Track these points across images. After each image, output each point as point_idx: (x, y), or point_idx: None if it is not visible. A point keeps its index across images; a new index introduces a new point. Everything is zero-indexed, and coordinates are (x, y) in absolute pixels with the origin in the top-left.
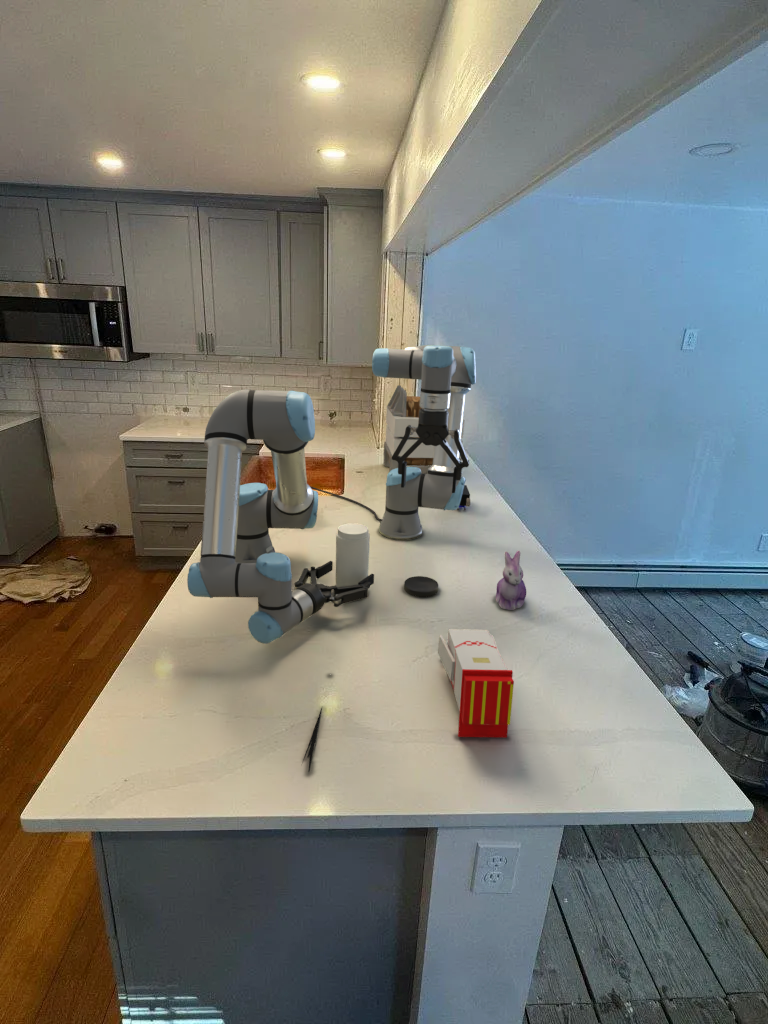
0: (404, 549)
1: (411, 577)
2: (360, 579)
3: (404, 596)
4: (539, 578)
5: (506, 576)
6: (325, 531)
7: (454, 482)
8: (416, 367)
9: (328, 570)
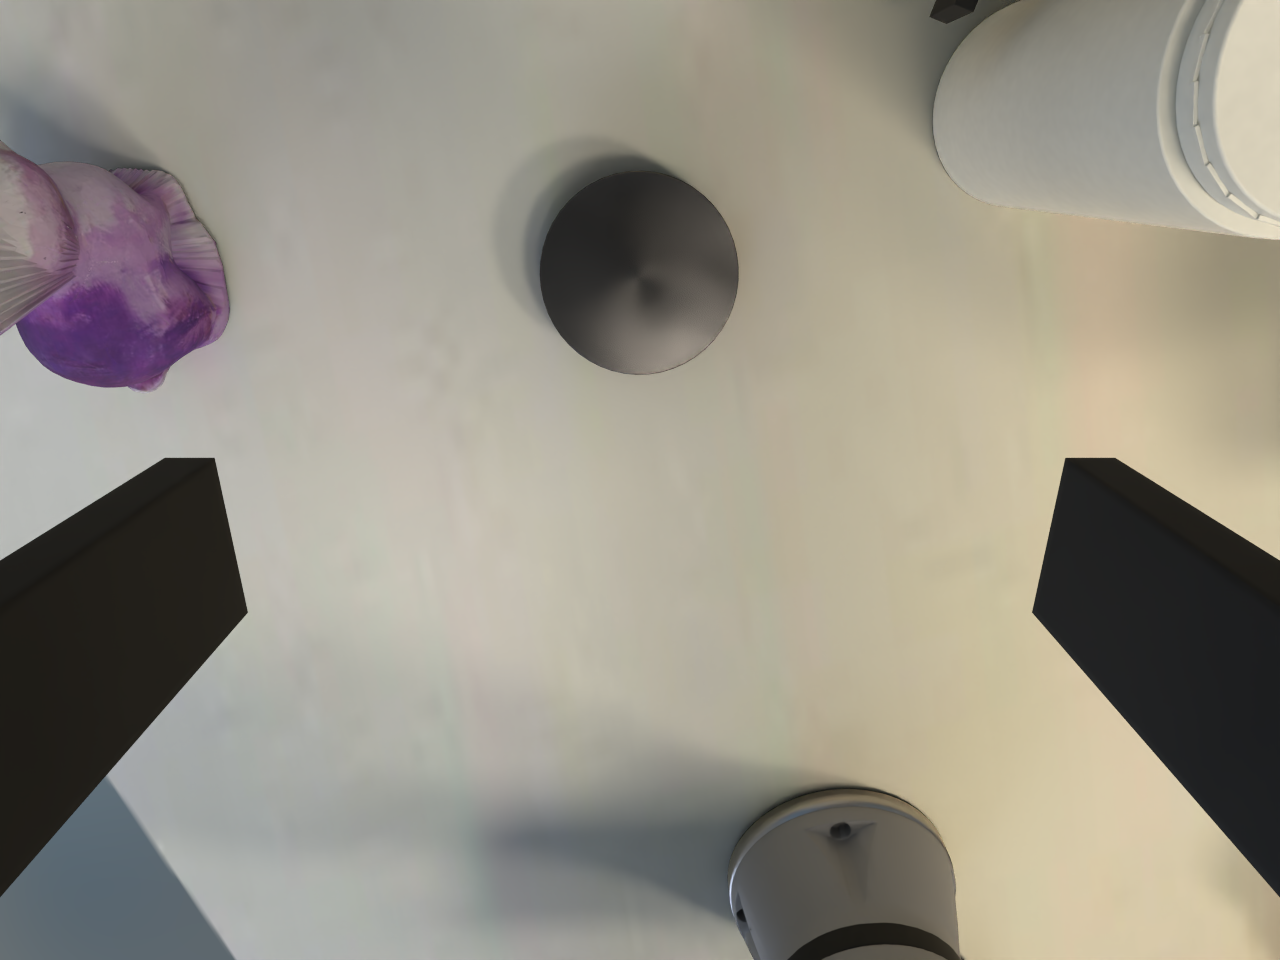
0: (791, 702)
1: (706, 340)
2: (1030, 8)
3: (717, 159)
4: None
5: (13, 160)
6: None
7: (54, 546)
8: None
9: None
